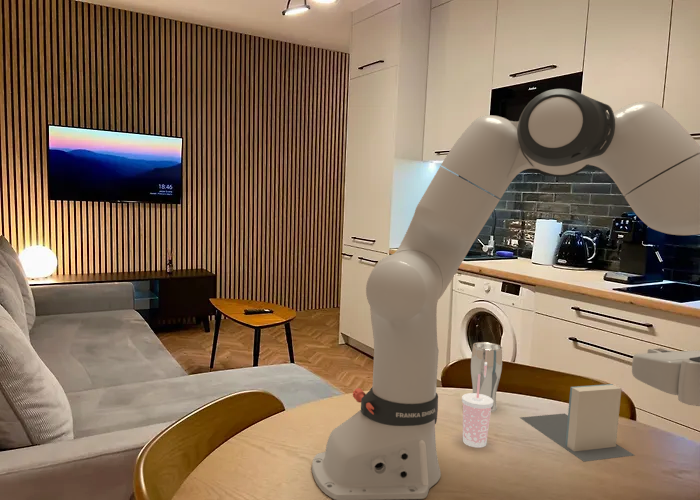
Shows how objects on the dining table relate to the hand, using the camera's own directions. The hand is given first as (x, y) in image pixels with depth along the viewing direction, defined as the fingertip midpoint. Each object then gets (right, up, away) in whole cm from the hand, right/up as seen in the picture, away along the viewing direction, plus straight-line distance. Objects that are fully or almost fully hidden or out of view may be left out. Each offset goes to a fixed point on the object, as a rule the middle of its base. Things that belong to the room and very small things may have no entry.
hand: (653, 353), depth 89 cm
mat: (-6, -21, +18) cm, 29 cm away
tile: (-5, -21, +14) cm, 26 cm away
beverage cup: (-28, -21, +14) cm, 37 cm away
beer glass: (-21, -19, +31) cm, 43 cm away
